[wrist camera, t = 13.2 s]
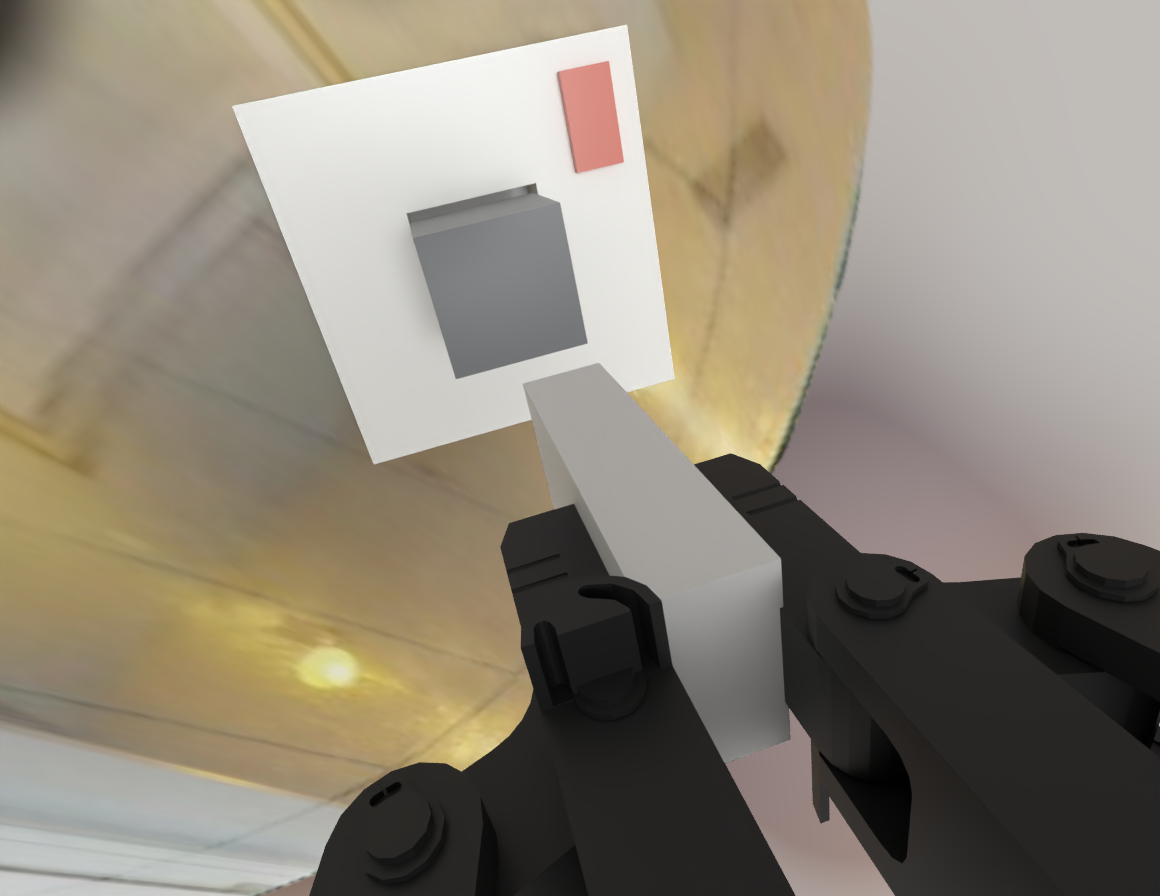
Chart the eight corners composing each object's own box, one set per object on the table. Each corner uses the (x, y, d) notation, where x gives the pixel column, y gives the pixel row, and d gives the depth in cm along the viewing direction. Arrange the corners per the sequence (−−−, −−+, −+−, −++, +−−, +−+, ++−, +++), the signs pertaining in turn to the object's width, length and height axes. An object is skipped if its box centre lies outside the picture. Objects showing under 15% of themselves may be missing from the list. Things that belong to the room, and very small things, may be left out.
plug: (442, 322, 37) (455, 379, 28) (409, 213, 34) (412, 237, 25) (544, 296, 37) (587, 343, 29) (519, 187, 35) (560, 202, 26)
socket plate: (376, 439, 39) (373, 469, 35) (248, 109, 31) (228, 105, 27) (654, 361, 41) (678, 382, 38) (606, 35, 33) (630, 22, 30)
